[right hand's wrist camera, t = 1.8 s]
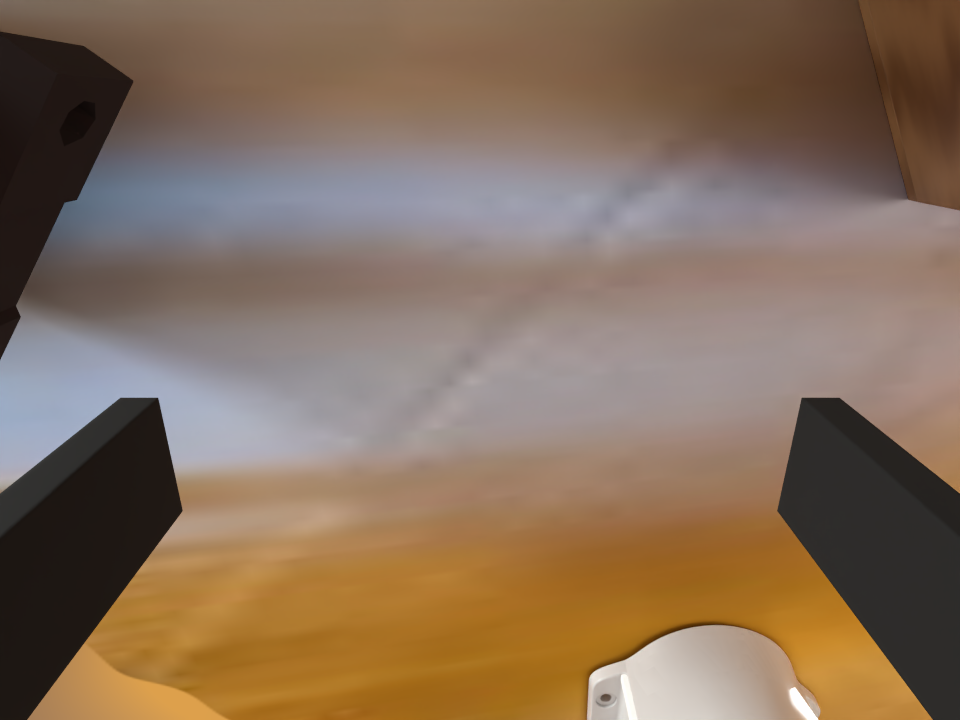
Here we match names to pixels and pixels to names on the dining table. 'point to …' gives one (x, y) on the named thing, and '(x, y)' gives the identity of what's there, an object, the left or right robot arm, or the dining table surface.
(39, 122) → the mechanical component
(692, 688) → the left robot arm
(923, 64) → the chest
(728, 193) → the dining table surface
